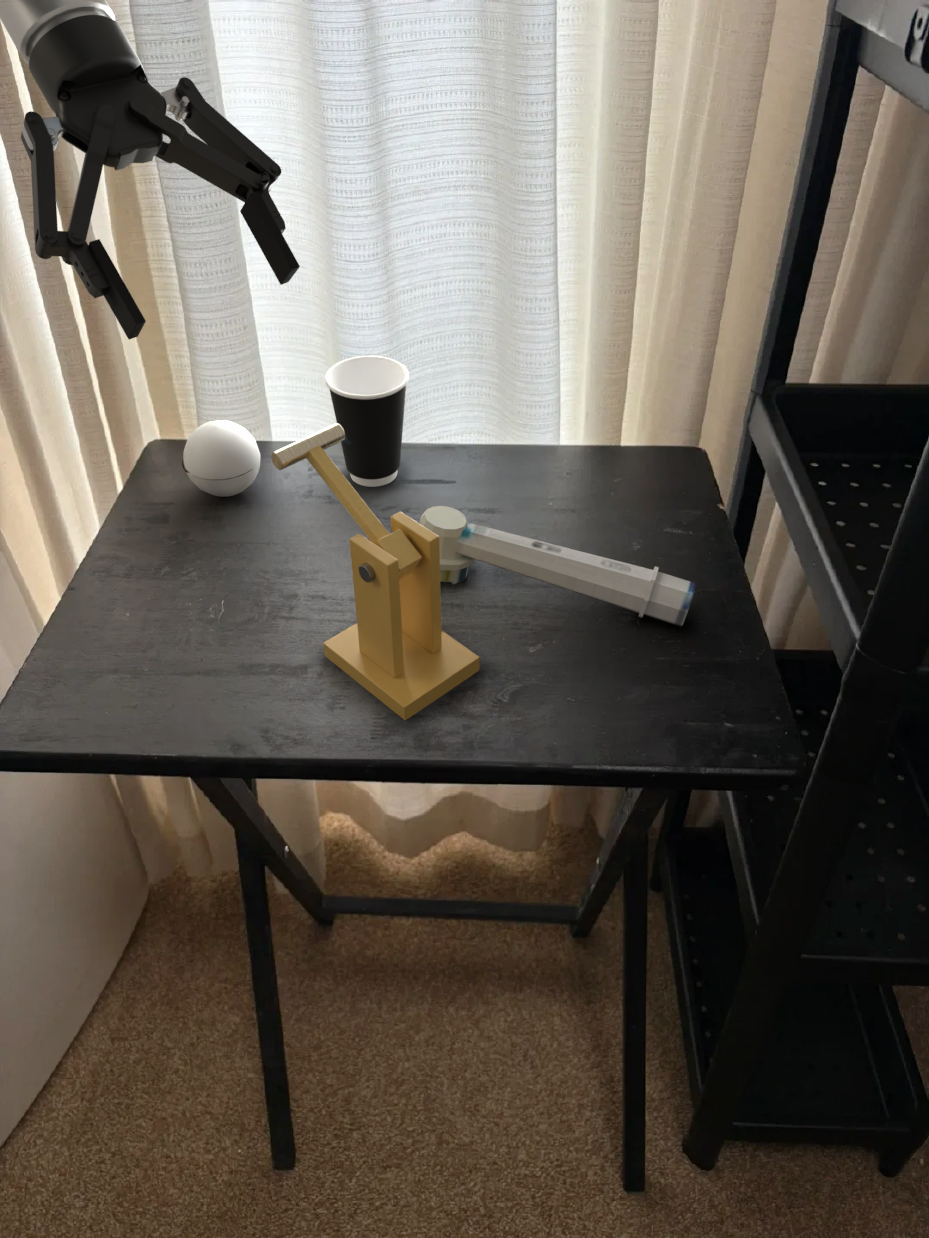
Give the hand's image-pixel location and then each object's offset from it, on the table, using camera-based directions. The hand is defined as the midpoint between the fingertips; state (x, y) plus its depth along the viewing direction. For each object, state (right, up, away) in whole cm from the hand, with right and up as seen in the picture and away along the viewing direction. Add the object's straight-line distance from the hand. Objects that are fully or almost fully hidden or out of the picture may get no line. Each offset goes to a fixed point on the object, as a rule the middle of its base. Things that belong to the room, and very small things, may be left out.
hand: (217, 302), depth 79 cm
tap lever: (+10, -16, 0) cm, 19 cm away
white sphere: (-5, -12, +23) cm, 27 cm away
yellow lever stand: (+14, -28, +6) cm, 31 cm away
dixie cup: (+10, -9, +26) cm, 30 cm away
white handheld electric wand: (+26, -22, +12) cm, 36 cm away
